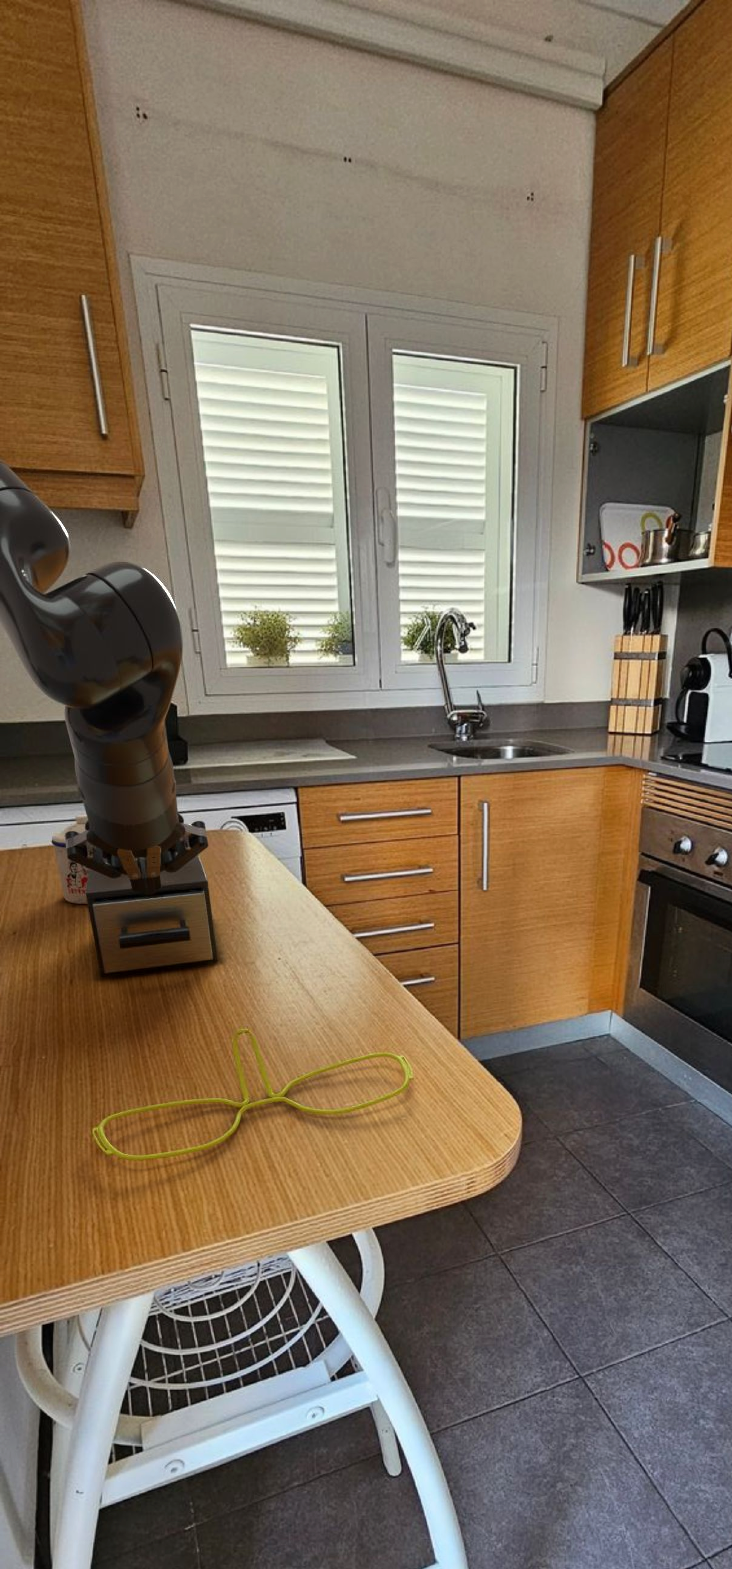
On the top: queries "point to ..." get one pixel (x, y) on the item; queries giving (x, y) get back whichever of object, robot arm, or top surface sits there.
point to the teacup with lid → (71, 865)
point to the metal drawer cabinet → (121, 886)
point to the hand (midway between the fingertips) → (146, 887)
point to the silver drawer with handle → (152, 930)
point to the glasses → (247, 1101)
